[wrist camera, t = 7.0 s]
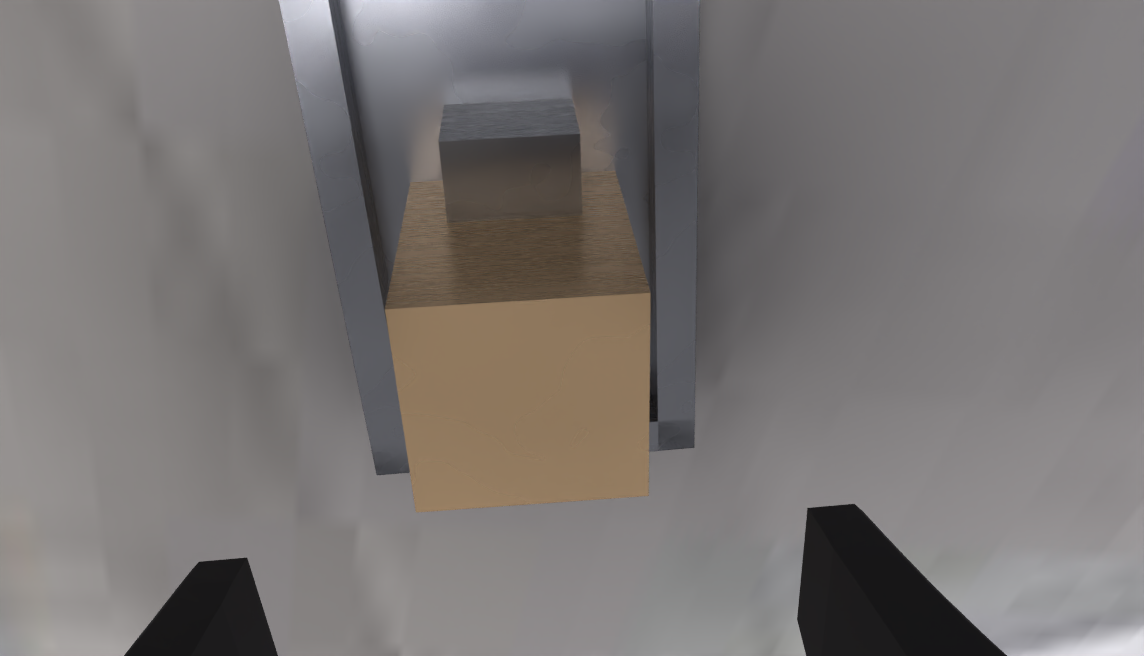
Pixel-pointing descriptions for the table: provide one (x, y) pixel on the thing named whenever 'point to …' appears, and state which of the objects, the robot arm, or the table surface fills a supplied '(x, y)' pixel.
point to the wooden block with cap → (519, 318)
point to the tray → (499, 74)
